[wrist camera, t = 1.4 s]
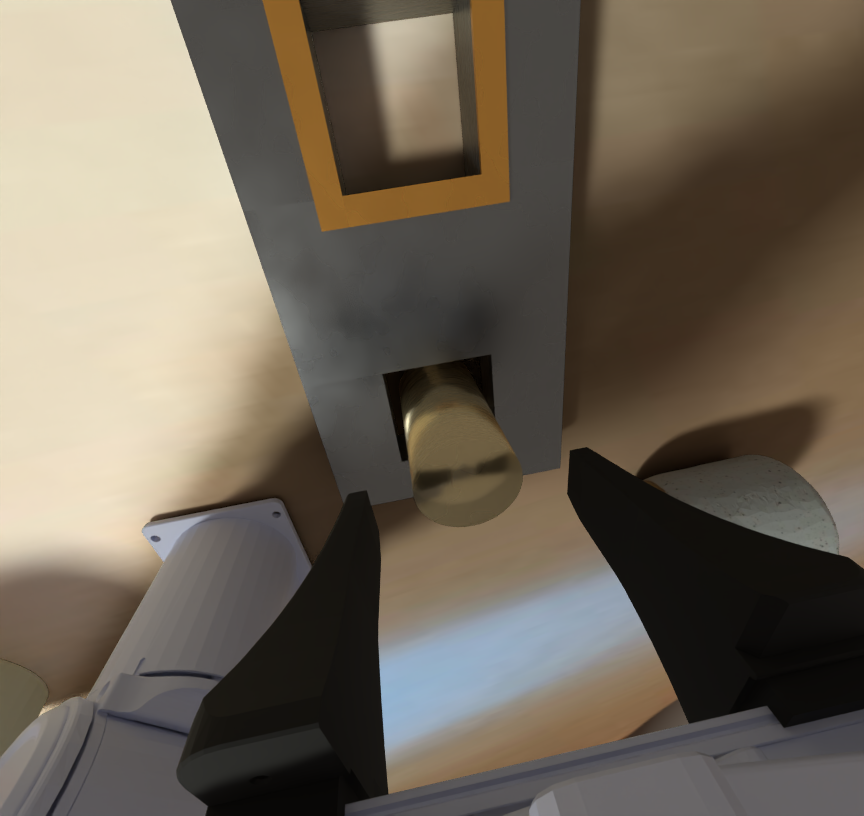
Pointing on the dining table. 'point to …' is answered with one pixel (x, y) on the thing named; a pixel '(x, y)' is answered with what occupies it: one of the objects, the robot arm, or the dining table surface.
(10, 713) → the reusable coffee cup
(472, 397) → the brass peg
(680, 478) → the ceramic mug
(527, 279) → the hole plate
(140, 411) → the dining table surface
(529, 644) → the dining table surface
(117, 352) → the dining table surface
